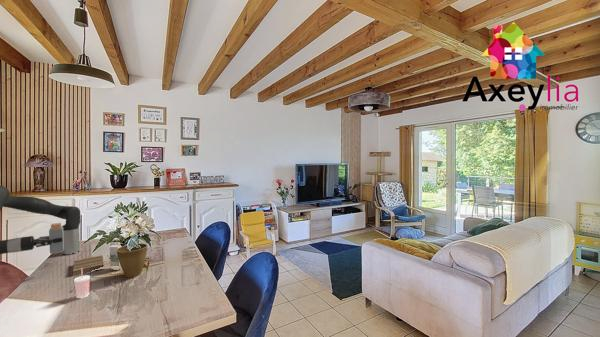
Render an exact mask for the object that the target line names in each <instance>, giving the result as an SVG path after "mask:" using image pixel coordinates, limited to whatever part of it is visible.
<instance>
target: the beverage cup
mask: <svg viewBox="0 0 600 337" xmlns="http://www.w3.org/2000/svg"><path fill="white" fill-rule="evenodd" d="M90 279H91V275H90V274H89V275H88V274H86V275H84V274H83V270H82V268H81V275H79V276H77V277H76V278H74V280H73V282H74V285H75V286H74V287H75V293H76V294H75V295H76V299H77V298H81V299H85V298H87V297H88V295H89V296H90ZM84 297H85V298H84Z"/></svg>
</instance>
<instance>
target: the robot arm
mask: <svg viewBox="0 0 600 337" xmlns="http://www.w3.org/2000/svg"><path fill="white" fill-rule="evenodd" d="M3 208H9V209H14V210H18V211H23V212H28V213H32V214H37V215H39V214H40V215H47V216H52V217H56V218H58V219H62V220H65V224H63V225H61V227H63V234H64V251H63V252H62V255H63V254H71V255H73V254H72V253H75V254H77V253H76V252H78V251H81V246H80V245H81V244H80V224H81V210H80V208H79V207H78V206H73V205H72V206H69V205H59V204H58V205H57V204H55V203H52V202H50V201H48V200H46V199H42V198H39V197H35V196H16V195H10V190H9V188H7V187H6V186H4V185H0V212H1V211H2V209H3ZM57 242H62V238H56V239H49V235H46V236H45V235H44V236H39V237H38V238H34V236H33V235H29V236H22V237H14V238H10V239H3V240H0V255H3V254H10V253H13V254H14V253H20V252H25V251H33V249H35V248H40V247H41V248H42V247H46V246H50V245H51V244H53V243H57ZM78 253H79V252H78Z"/></svg>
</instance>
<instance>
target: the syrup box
mask: <svg viewBox="0 0 600 337" xmlns="http://www.w3.org/2000/svg"><path fill="white" fill-rule="evenodd" d="M120 244H121V243H115V244H113V245H110V246H109V258H110V260H109V262H110V267H111V266H120V263H119V259H118V255H117V249H118V248H120V247H122V246H121V245H120Z"/></svg>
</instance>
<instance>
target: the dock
mask: <svg viewBox="0 0 600 337" xmlns="http://www.w3.org/2000/svg"><path fill="white" fill-rule="evenodd" d="M73 262H74V263H73V268H72V276H73V275H76V276H78V275H77V274H81V268H82V270H83V273H85V274H88V273H87V272H90V273H92V272H91V271H92V270H95V269H98V268H100V267H103V266H104V267H105V265H104V257H103V254H101V255H95V256H90V257H85V258H81V259H80V258H79V259H74V261H73Z"/></svg>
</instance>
